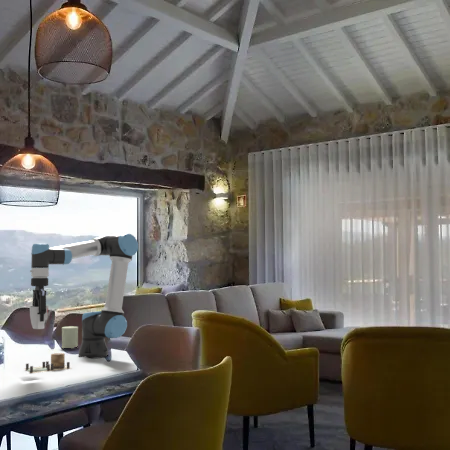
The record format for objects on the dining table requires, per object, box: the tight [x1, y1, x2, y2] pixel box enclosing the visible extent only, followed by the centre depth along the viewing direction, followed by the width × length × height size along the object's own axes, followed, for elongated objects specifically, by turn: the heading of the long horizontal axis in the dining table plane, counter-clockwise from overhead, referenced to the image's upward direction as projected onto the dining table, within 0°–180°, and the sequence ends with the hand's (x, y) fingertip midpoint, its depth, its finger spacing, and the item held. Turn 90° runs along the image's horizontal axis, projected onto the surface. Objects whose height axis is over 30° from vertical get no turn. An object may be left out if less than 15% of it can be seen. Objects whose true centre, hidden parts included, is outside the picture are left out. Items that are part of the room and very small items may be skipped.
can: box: [61, 325, 79, 349], centre depth 323 cm, size 9×9×12 cm
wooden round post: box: [50, 352, 66, 369], centre depth 257 cm, size 6×6×6 cm
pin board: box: [24, 360, 73, 374], centre depth 255 cm, size 18×13×4 cm
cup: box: [29, 305, 49, 330], centre depth 254 cm, size 8×8×10 cm
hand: (38, 327), depth 254 cm, fingers closed on cup, 8 cm apart
